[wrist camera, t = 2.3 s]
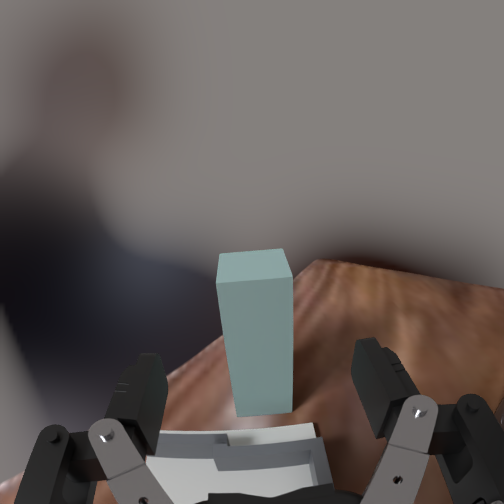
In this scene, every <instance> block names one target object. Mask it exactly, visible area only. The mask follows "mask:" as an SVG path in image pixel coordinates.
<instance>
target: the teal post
mask: <svg viewBox="0 0 504 504" xmlns="http://www.w3.org/2000/svg"><path fill="white" fill-rule="evenodd" d="M216 287H217V294H218V301H219V308H220V315H221V322H222V329H223V335H224V342H225V348H226V354H227V361H228V367H229V373H230V379H231V385H232V391H233V396H234V402H235V408H236V414H237V417H246V416H260V415H271V414H281V413H290V412H292V395H293V276H292V273H291V271H290V268H289V265H288V262H287V260H286V257H285V254H284V251H283V249H273V250H272V249H271V250H260V251H248V252H235V253H223V254H220V255H219V263H218V271H217V279H216Z"/></svg>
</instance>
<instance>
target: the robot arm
mask: <svg viewBox="0 0 504 504" xmlns="http://www.w3.org/2000/svg"><path fill="white" fill-rule="evenodd" d="M351 375H352V380H353V383H354V385H355V387H356V390H357V392H358V395H359V397H360V400H361V402H362V405H363V407H364V410H365V412H366V415H367V417H368V420H369V422H370V425H371V427H372V430H373V432H374V435H375V438H376V439H379V438H383V437H385V438H386V440H387V444H386V446H385V448H384V451H383V453H382V455H381V457H380V460H379V462H378V464H377V466H376V468H375V470H374V472H373V475H372V477H371V479H370V481H369V483H368V484H367V486H366V488H365V490H364V492H363V494H362V496H361V495H359V494H356V493H353V492H350V491H345V490H334V486H333V483H328V484H322V485H316V486H310V487H303V488H300V489H297V490H294V491H291V492H288V493H285V494H282V495H279V496H276V497H262V496H255V495H249V494H243V493H208V500H205V501H201V502H198V503H195V504H413V503H414V500H415V497H416V495H417V492H418V489H419V487H420V484H421V481H422V478H423V475H424V472H425V469H426V466H427V463H428V460H429V455H435V456H436V459H437V461H438V463H439V466H440V469H441V471H442V474H443V476H444V479H445V481H446V484H447V487H448V489H449V492H450V495H451V498H452V500H453V503H454V504H504V398H503V400H502V401H501V403H500V405H499V406H498V408H497V410H496V412H495V415H494V414H493V412H492V411H491V409H490V408H489V406H488V404H487V403H486V401H485V400H484V399H483V398H482V397H480V396H478V395H475V394H466V395H463V396H462V397H461V398H460V399H459V400H458V402H457V404H449V405H438V404H436V402H435V401H434V400H433V399H431V398H430V397H428V396H424V395H421V394H420V393H419V391H418V389H417V388H416V386H415V384H414V383H413V381H412V379H411V378H410V376H409V374H408V373H407V371H405V368H404V366H403V364H401V361H400V360H399V358H398V356H397V355H396V353H394V352H393V351H391V350H390V349H389V348H387V347H385V348H381V346H380V345H379V343H378V341H377V340H376V338H374V337H372V338H366V339H359V340H357V341H356V343H355V349H354V355H353V361H352V367H351ZM167 395H168V382H167V378H166V375H165V371H164V368H163V365H162V361H161V358H160V355H159V354H140V355H139V358H138V360H137V363H136V365H130V366H128V367H127V368H126V369H125V370H124V372H122V374H121V376H120V378H119V381H118V384H117V386H116V389H115V392H114V394H113V397H112V399H111V401H110V404H109V407H108V409H107V412H106V415H105V417H104V419H102V420H99V421H97V422H96V423H94V424H93V425H92V426H91V428H90V429H89V431H84V432H76V433H69V432H68V431H67V430H66V428H65V427H63V426H61V425H50V426H47V427H46V428H44V429H43V430H42V431H41V432H40V434H39V436H38V439H37V441H36V443H35V446H34V449H33V451H32V453H31V456H30V459H29V461H28V464H27V467H26V469H25V472H24V475H23V478H22V481H21V483H20V486H19V489H18V492H17V496H16V499H15V502H14V504H93V500H94V495H95V490H96V485H97V481H102V480H106V481H107V484H108V486H109V488H110V490H111V491H112V493H113V495H114V497H115V499H116V500H117V502H118V504H174V503H173V501H172V500H171V499H170V497H169V496H168V495H167V493H166V492H165V491H164V489H163V488H162V487H161V485H160V484H159V482H158V481H157V479H156V478H155V477H154V475H153V474H152V472H151V471H150V469H149V468H148V466H147V465H146V463H145V457H146V455H154V456H155V454H156V448H157V443H158V438H159V433H160V428H161V424H162V419H163V414H164V409H165V405H166V400H167Z"/></svg>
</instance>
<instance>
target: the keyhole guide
mask: <svg viewBox="0 0 504 504" xmlns="http://www.w3.org/2000/svg"><path fill="white" fill-rule="evenodd" d="M146 465H147V466H148V468H149V469H150V471H151V472H152V474H153V475H154V477H155V478H156V479H157V481H158V482H159V484H160V485H161V487H162V488H163V489H164V491H165V492H166V493H167V495H168V496H169V497H170V499H171V500H172V501H173V503H174V504H195V503H198V502H201V501H205V500H208V493H243V494H249V495H255V496H262V497H276V496H279V495H282V494H285V493H288V492H291V491H294V490H297V489H300V488H303V487H310V486H316V485H322V484H328V483H333V480H332V476H331V472H330V468H329V463H328V459H327V455H326V451H325V447H324V443H323V439H322V437H318V438H316V435H315V431H314V427H313V423H306V424H298V425H290V426H282V427H272V428H261V429H247V430H228V431H163V430H160V433H159V438H158V443H157V448H156V454H155V456H154V455H147V460H146ZM333 486H334V484H333ZM334 490H335V489H334Z"/></svg>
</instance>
